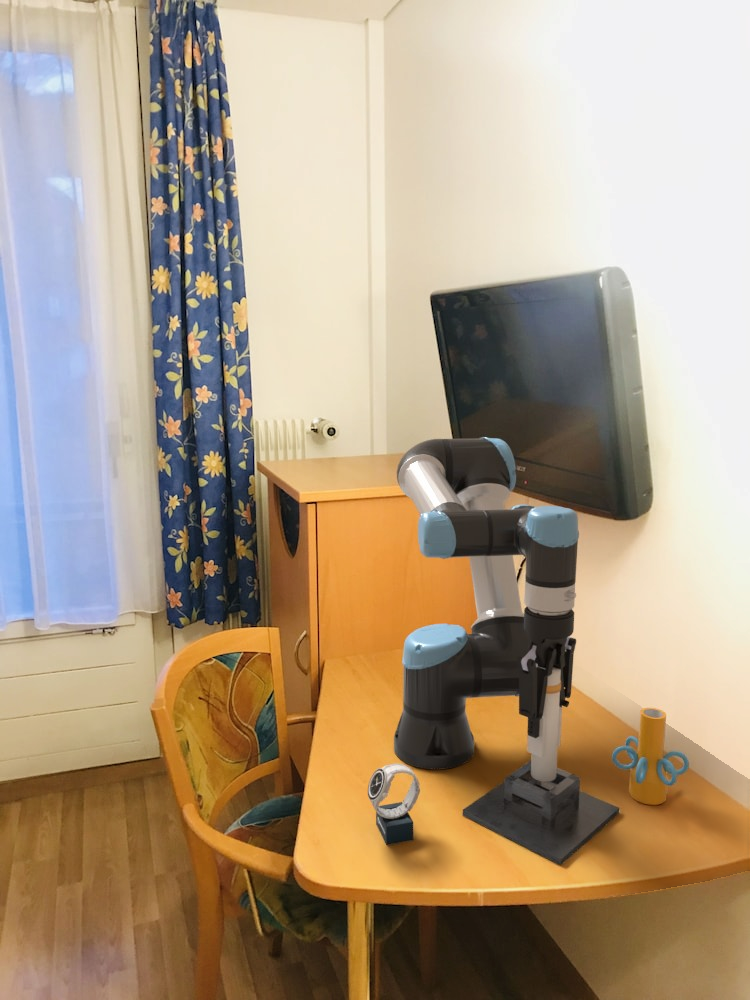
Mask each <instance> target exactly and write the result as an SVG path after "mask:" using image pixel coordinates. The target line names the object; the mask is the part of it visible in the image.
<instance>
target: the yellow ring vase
mask: <svg viewBox="0 0 750 1000" xmlns="http://www.w3.org/2000/svg"><path fill="white" fill-rule="evenodd" d="M666 720H667V714H666V712H665V711H663V710H661V709H659V708H656V707H655V708H654V707H644V708H641V709H640V713H639V725H638V727H639V728H638V729H639V730H638V738H637V737H636V736H633V735H630V736H628V737H627V738H626V739H625V745H621V746H617V747H616V748H615V749H613V752H612V755H611V760H612V763H613V764H614V765H615V766H616V767H617V768H618V769H621V770H625V771H626V770H628V771H629V770H630V771H629V772H630V773H629V785H628V786H629V788H628V792H629V796H630V797H631V798H632V799H634V801H637V802H638V803H641V804H644V805H649V806H657V805H661V804H663V803H665V802H666V800H667V796H668V795H667V794H668V786H669V787H670V786H674V785H675V784H676V782H677V778H678V777H677V776H680V775H683V774H685V773H686V772H687V771H688V769H689V767H690V761H689V758H688V756H687V755H686V754H685V753H683V752H681V751H678V750H671V751H668V752H666V753H665V754H664V749H665V738H666V737H665V736H666V735H665V733H666V724H667V723H666ZM631 742H634V743H635V744H636V747H637V751H636V750H635V749H634V748H633V747H631ZM623 751H626V753H627V756H628V757H629V759H631V760H632V761H631V762H630V763H629V764H622V763H621V762H620V761H619V760H618V759H617V757H618V755H619V753H620V752H623ZM671 757H679V758H681V759H682V760H683V765H682V767H681V768H680V769H676V768H675V765H674V764H673V763H672V762H671V761H670V760H669V759H670V758H671ZM668 774H670V775H671V778H670V780H669V775H668Z"/></svg>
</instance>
